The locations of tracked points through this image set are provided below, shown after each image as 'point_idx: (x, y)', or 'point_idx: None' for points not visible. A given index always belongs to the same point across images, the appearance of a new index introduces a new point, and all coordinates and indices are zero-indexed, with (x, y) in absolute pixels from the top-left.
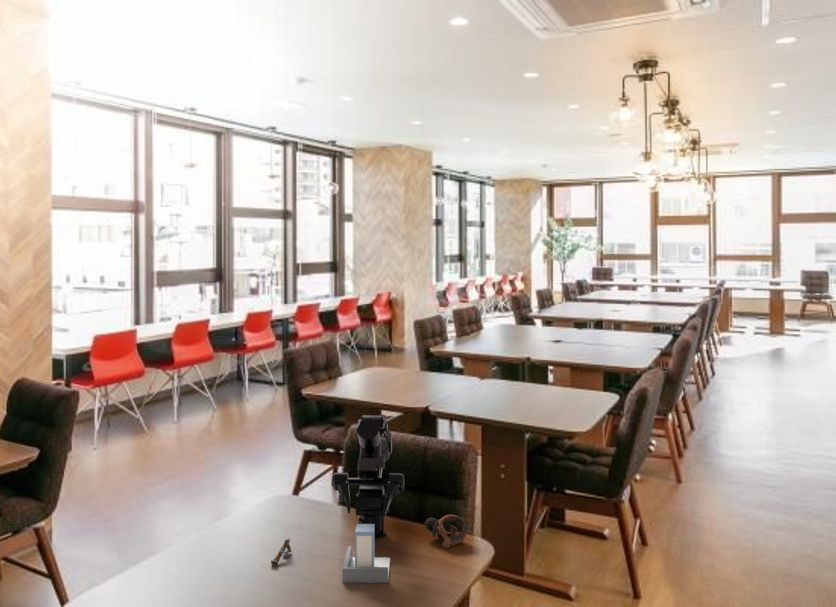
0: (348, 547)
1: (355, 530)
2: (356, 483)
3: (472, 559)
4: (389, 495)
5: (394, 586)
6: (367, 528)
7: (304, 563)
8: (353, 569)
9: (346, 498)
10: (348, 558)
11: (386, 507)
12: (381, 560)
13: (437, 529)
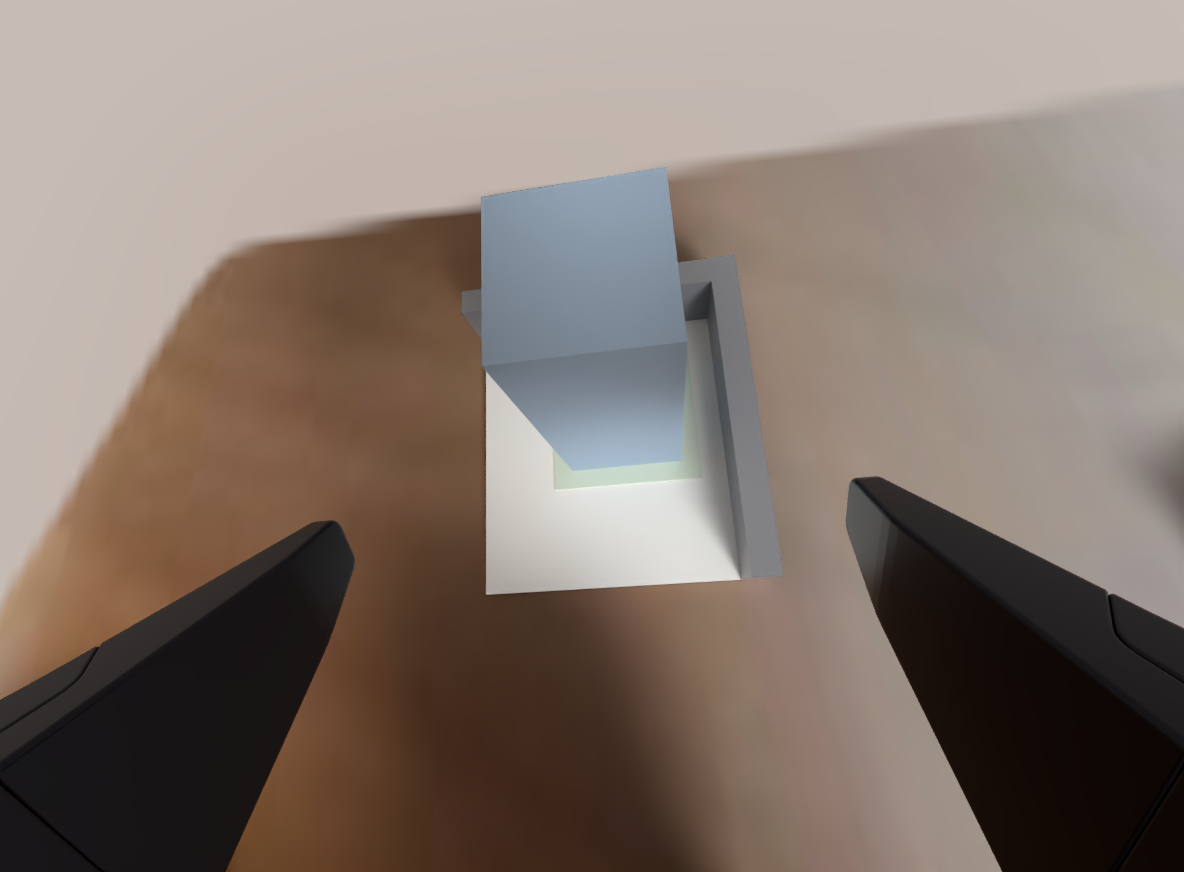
0: (772, 551)
1: (666, 192)
2: None
3: (40, 633)
4: (5, 706)
5: (457, 307)
6: (547, 255)
7: (1056, 490)
8: None
9: (1086, 606)
10: (729, 384)
11: (257, 558)
12: (538, 549)
13: None
